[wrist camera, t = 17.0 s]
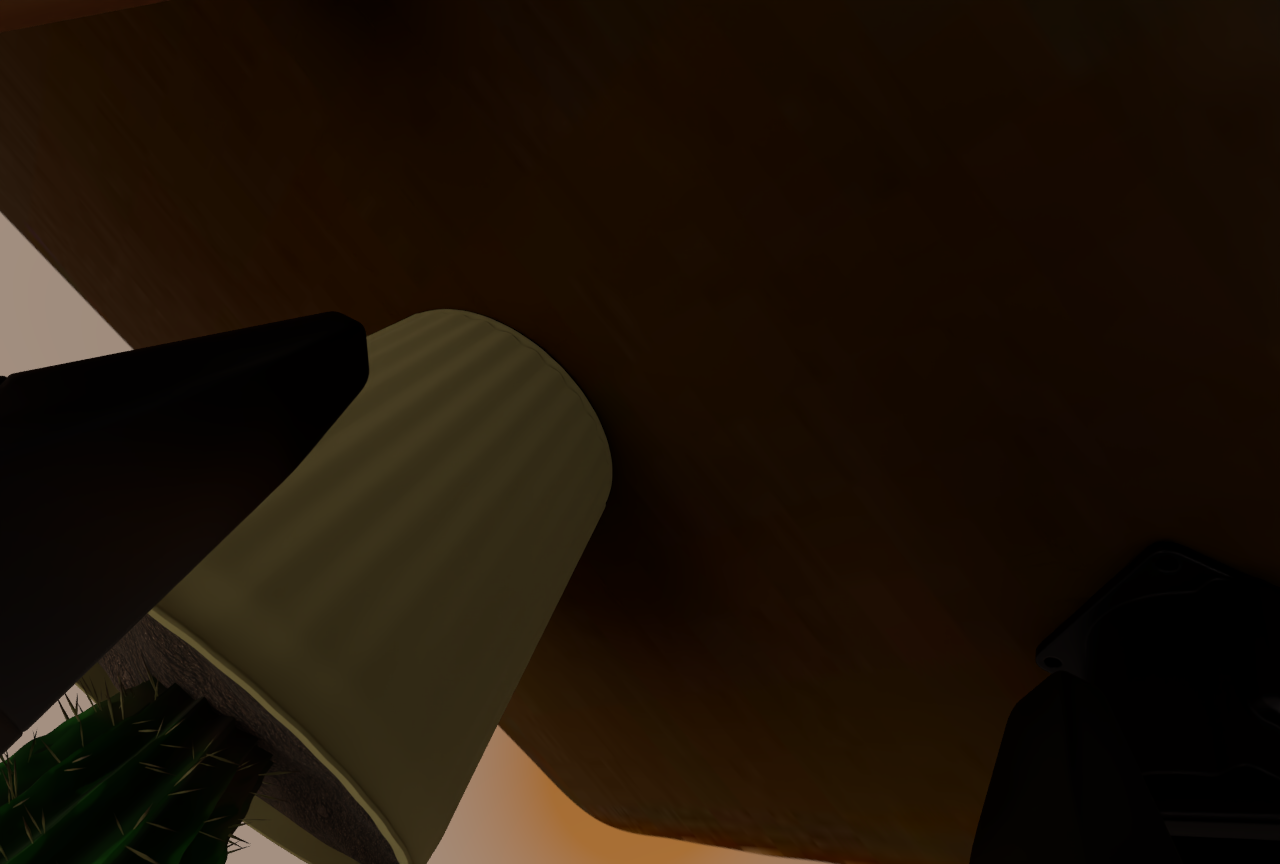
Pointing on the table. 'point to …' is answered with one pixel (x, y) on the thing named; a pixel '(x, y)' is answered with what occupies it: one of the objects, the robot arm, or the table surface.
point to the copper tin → (57, 10)
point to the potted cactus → (338, 627)
